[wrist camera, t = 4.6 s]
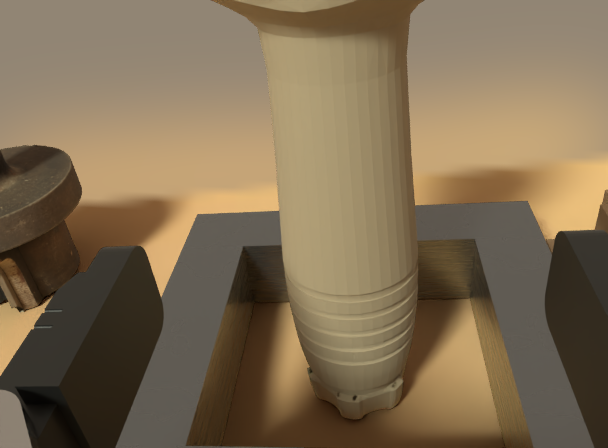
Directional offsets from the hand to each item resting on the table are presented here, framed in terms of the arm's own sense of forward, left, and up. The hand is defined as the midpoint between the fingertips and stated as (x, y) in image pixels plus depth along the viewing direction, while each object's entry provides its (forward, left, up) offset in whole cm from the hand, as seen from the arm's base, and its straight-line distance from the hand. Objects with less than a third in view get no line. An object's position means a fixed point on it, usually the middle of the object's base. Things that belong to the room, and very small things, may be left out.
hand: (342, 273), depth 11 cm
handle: (0, -5, -9) cm, 10 cm away
